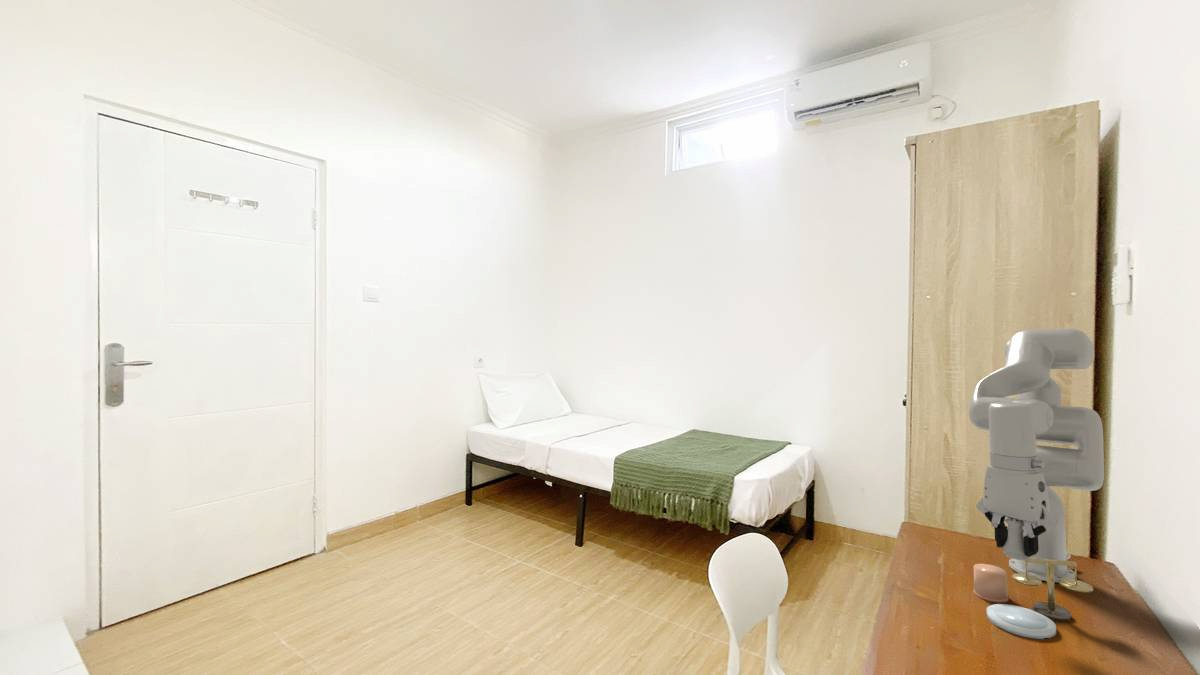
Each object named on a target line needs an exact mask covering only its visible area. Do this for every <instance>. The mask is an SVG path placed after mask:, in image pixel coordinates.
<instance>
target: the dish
mask: <svg viewBox="0 0 1200 675" xmlns="http://www.w3.org/2000/svg"><path fill="white" fill-rule="evenodd" d="M986 617H987V620H989V622H990V623H991V624H993V625H994V626H996V627H998V628H1000V629H1002V630H1003V631H1005V632H1008V633H1011V634H1013V635H1016V636H1020V637H1024V638H1029V639H1036V640H1045V639H1044V638H1049V639H1051V638H1050V637H1053V636H1054V635H1055V634H1056V635H1057V625H1056V623H1055V622H1054V620H1051V619H1049V618H1048V617H1046V616H1044V615H1042V614H1040V613H1038V612H1036V611H1034V610H1033V609H1030V608H1026V607H1024V606H1019V605H1014V604H1007V603H1006V604H1005V603H996V604H991V605H989V606H988V607H986ZM1056 635H1055V636H1056ZM1055 636H1054V637H1055ZM1054 637H1053V638H1054Z"/></svg>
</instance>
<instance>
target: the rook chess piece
mask: <svg viewBox="0 0 1200 675" xmlns="http://www.w3.org/2000/svg"><path fill="white" fill-rule="evenodd" d="M1005 524H1007V529H1008V538H1007V541H1006V542H1005V543H1006V544H1004V546H1003V547H1002V549H1003V550H1002V553H1003V554H1004V555H1005V556H1006V557H1007V558H1009V559H1011V558H1013V559H1017V560H1028V559H1029V558H1030V557H1028V556H1026V555H1025V554H1024V537H1023V532H1024V530H1023V526H1024V522H1023V521H1022V520H1018V519H1014V518H1010V517H1006V520H1005Z"/></svg>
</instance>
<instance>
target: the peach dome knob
mask: <svg viewBox="0 0 1200 675" xmlns="http://www.w3.org/2000/svg"><path fill="white" fill-rule="evenodd" d="M1007 573H1008V572H1007V571H1006V570H1005V569H1004V568H1001V567H1000V566H997V565H993V564H990V563H989V564H988V563H987V564H986V563H975V564H973V585H974V587H973V590H972V592H973V594H974V595H975V596H977V598H980V599H983V600H985V601H988V602H991V603H996V604H1005V603H1007V602H1009V600H1010V598H1009V594H1008V585H1007V584H1008V580H1007V576H1008V574H1007Z"/></svg>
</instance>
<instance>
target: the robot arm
mask: <svg viewBox="0 0 1200 675" xmlns="http://www.w3.org/2000/svg"><path fill="white" fill-rule="evenodd" d="M1004 356H1005V359H1004V363H1003V366H1002V367H1001V368H999V369H997V370H995V371H994V372H992V373H990V374H988V375H987V376H985V377H984V378H982V379H981V380H979V381H978V382H977V383H976V385H975V387H974V388H973V393H972V396H971V399H970V402H969V409H968V410H969V411H968V415H969V420H970V423H971V424H972V425H973V426H974V427H975V428H977V429H979V430H984V431H988V434H989V435H988V437H989V438H988V440H989V461H990V462H989V463H990V464H987V466H986V470H985V474H984V478H983V479H984V480H983V496H982V498H981V499H980V500H979V502H978V503H977V504H976V506H975V508H976V509H977V510H978V511H979V512H981V513H982V514H983V515H984V516H985V517H986V519H987V520H988V521H989V522H990V523H991V527H993V528H994V541H995V542H996V548H1000V549H1002V548H1003V546H1004V544H1006V543H1005V542H1006V541H1007V538H1008V529H1007V527H1008V525H1007V526H1006V521H1005V520H1006V519H1007V517H1010V518H1014V519H1018V520H1022V521H1023V522H1024V526H1023V530H1024V532H1023V537H1024V554H1025V555H1026V556H1028V557H1030V558H1037V559H1049V560H1060V561H1068V560H1069V559H1071V557H1072V555H1071V553H1070V552H1069V551H1067V539H1066V538H1067V537H1066V517H1065V516H1066V514H1065V505H1064V501H1063V499H1062V498H1061V497H1060V496H1059V495H1058V493H1056V492H1055V490H1054V489H1053V488H1052V487H1056V488H1057V487H1058V488H1066V489H1070V490H1071V489H1072V490H1078V491H1079V490H1080V491H1087V492H1089V491H1090V492H1091V491H1092V492H1093V491H1097V490H1101V488H1102V487H1103V484H1104V482H1105V481H1104V480H1105V456H1104V454H1105V453H1104V452H1105V451H1104V429H1103V427H1104V426H1103V422H1102V419H1101V417H1100V415H1099V413H1098V412H1097V411H1096V410H1094V409H1092V408H1088V407H1085V406H1084V407H1083V406H1072V405H1071V406H1069V405H1062V389H1061V387H1060V386H1059V384H1058V383H1057V382H1056V381H1055V380H1054V379H1053V378H1052V377H1051V370H1086V369H1088V368H1090V367H1091V365H1092V364H1093V362H1094V359H1095V348H1094V344H1093V341H1092V340H1091V338H1089V336H1088V335H1087V333H1085V332H1083V331H1082V330H1079V329H1075V328H1048V329H1047V328H1045V329H1041V328H1040V329H1027V330H1026V329H1025V330H1022V331H1019V332H1017V333H1015V334H1014V335H1013V336H1012V337H1011V338H1010V340H1009V341H1007V342H1006V343H1005V346H1004ZM1015 395H1016V396H1018V397H1017V398H1015V397H1011V396H1015ZM1037 442H1041V443H1048V444H1050V443H1051V444H1060V445H1070V446H1074V447H1075V448H1065V447H1057V446H1048V445H1039V444H1037ZM1008 566H1009V567H1010V569H1012V570H1013V571H1014V572H1015V573H1022V574H1026V570H1025V560H1017V559H1013V558H1009V560H1008ZM1027 574H1028V575H1032V576H1035V577H1037V578H1039V579H1040V580H1041V581H1043V582H1047V574H1046V564H1043V563H1032V562H1027ZM1060 579H1074V580H1075V570H1074V571H1073V569H1072V568H1069V566H1064V565H1054V584H1055V583H1058V584H1060Z"/></svg>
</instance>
